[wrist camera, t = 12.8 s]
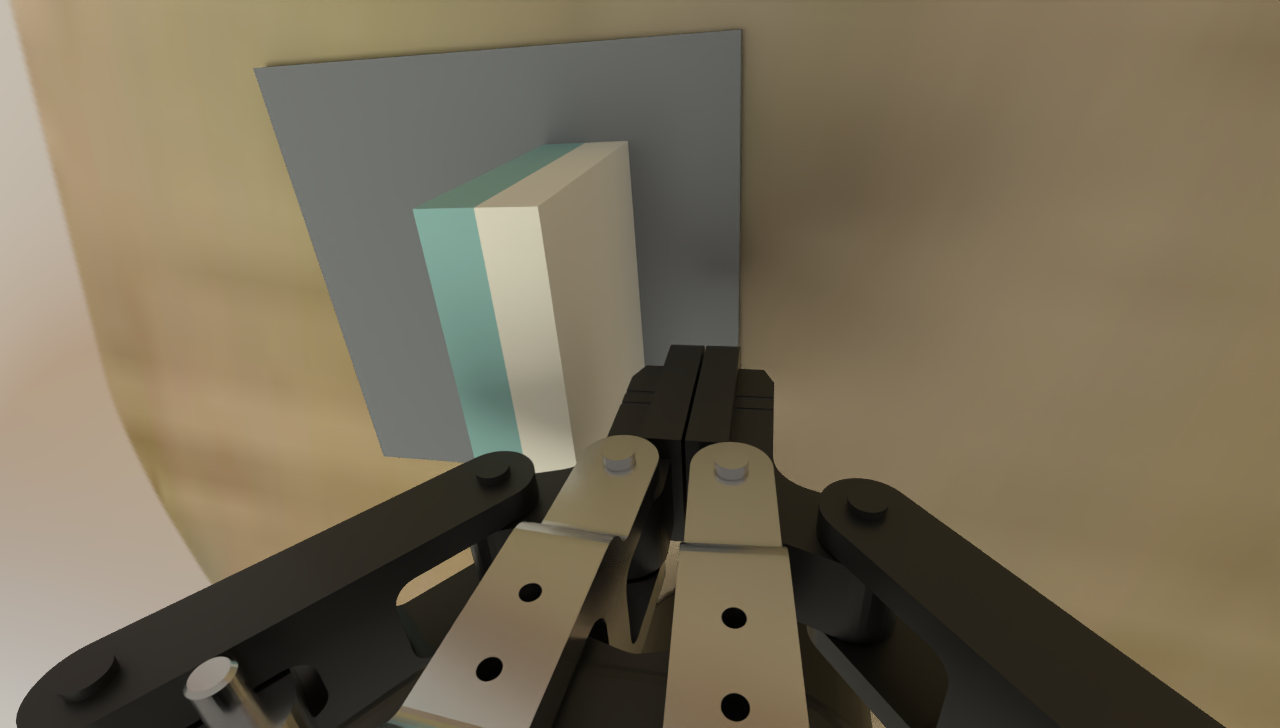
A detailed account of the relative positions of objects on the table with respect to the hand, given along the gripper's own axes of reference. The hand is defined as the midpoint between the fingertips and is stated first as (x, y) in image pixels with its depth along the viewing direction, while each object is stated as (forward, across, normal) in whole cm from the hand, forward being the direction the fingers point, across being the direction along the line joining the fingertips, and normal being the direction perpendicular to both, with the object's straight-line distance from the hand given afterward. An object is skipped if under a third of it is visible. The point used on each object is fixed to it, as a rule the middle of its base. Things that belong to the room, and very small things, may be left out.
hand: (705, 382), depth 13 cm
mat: (+6, +7, 0) cm, 9 cm away
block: (+5, +4, 0) cm, 7 cm away
